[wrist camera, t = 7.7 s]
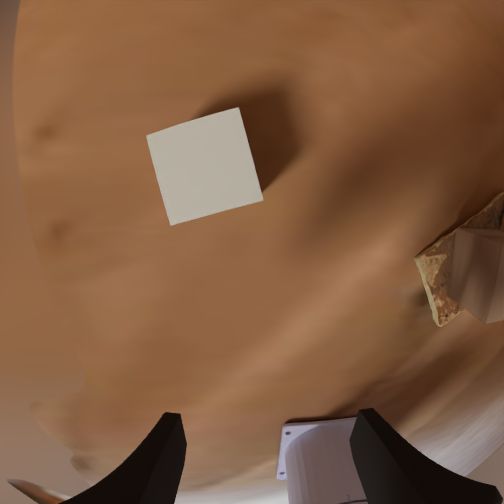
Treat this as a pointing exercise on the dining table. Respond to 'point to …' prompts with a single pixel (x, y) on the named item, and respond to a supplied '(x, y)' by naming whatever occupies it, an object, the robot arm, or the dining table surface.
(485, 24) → the dining table surface
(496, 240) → the walnut block
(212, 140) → the white cube
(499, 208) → the shard
